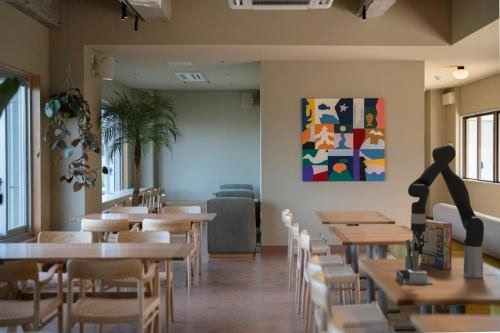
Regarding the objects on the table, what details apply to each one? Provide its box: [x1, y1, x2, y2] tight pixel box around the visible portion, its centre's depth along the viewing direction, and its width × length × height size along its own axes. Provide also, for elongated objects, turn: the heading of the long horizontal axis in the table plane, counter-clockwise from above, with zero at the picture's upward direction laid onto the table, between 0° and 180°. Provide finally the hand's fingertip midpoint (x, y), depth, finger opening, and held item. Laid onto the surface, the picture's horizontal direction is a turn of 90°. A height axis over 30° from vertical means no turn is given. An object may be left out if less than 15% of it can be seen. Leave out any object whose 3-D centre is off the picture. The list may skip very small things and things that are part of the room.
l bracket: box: [407, 269, 428, 282], centre depth 287 cm, size 9×7×5 cm
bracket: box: [404, 238, 421, 270], centre depth 313 cm, size 28×7×20 cm, turn 152°
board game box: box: [420, 219, 453, 270], centre depth 326 cm, size 20×6×27 cm, turn 23°
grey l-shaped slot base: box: [395, 269, 433, 286], centre depth 288 cm, size 16×13×5 cm
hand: (418, 252), depth 284 cm, fingers open, 8 cm apart
